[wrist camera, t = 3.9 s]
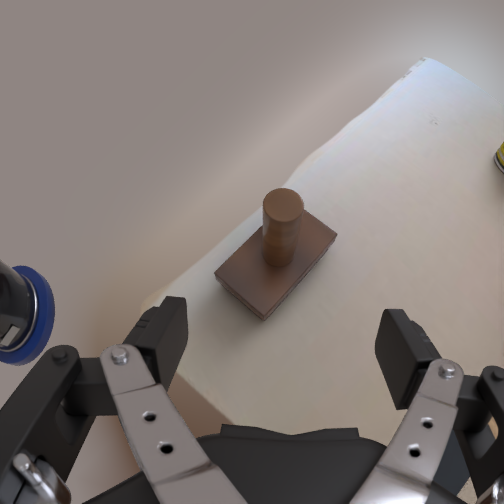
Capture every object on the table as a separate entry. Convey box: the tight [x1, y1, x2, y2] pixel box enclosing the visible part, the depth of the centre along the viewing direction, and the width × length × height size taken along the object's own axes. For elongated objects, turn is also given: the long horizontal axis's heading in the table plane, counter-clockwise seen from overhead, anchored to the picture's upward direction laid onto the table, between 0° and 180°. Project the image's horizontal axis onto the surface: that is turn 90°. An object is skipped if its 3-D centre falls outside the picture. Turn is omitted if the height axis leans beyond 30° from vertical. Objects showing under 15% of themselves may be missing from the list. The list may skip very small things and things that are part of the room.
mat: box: [433, 430, 470, 496], centre depth 20 cm, size 10×6×1 cm, turn 138°
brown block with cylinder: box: [214, 188, 337, 321], centre depth 24 cm, size 10×5×10 cm, turn 138°
